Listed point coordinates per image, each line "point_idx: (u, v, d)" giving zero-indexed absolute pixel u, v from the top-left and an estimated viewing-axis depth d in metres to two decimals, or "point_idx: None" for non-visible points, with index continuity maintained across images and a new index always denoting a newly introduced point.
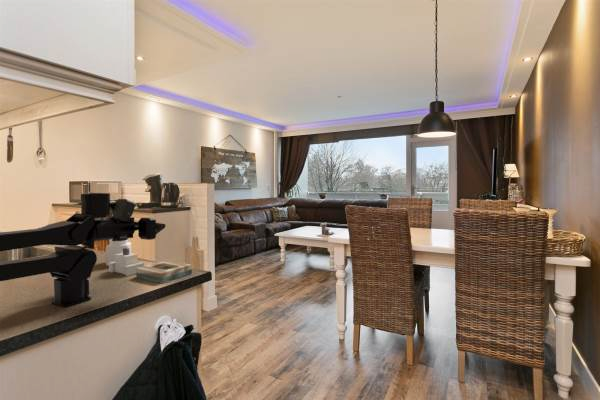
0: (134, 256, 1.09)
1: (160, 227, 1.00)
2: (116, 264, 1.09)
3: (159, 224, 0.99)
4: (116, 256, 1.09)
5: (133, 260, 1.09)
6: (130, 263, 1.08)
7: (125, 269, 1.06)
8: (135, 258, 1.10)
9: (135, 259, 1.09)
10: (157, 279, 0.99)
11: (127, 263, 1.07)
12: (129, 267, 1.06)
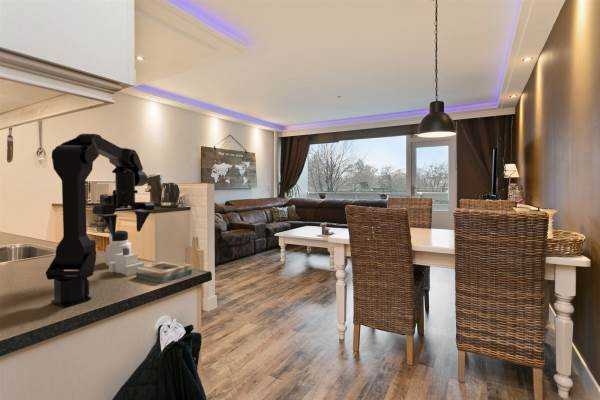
0: (134, 256, 1.09)
1: None
2: (116, 264, 1.09)
3: None
4: (116, 256, 1.09)
5: (133, 260, 1.09)
6: (130, 263, 1.08)
7: (125, 269, 1.06)
8: (135, 258, 1.10)
9: (135, 259, 1.09)
10: (157, 279, 0.99)
11: (127, 263, 1.07)
12: (129, 267, 1.06)
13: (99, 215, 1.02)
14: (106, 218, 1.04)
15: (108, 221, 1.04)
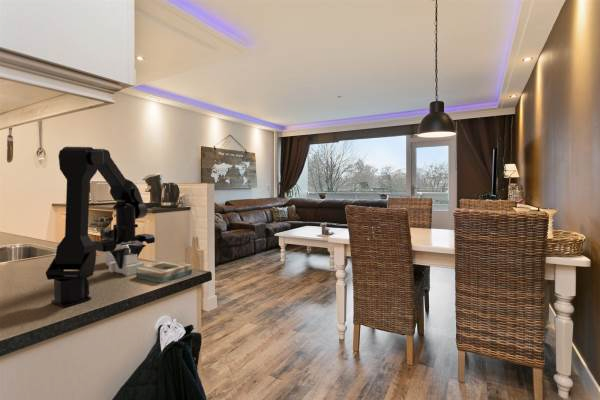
0: (134, 256, 1.09)
1: None
2: (116, 264, 1.09)
3: None
4: None
5: (133, 260, 1.09)
6: (130, 263, 1.08)
7: (125, 269, 1.06)
8: (135, 258, 1.10)
9: (135, 259, 1.09)
10: (157, 279, 0.99)
11: (127, 263, 1.07)
12: (129, 267, 1.06)
13: None
14: (114, 252, 1.07)
15: (116, 255, 1.07)
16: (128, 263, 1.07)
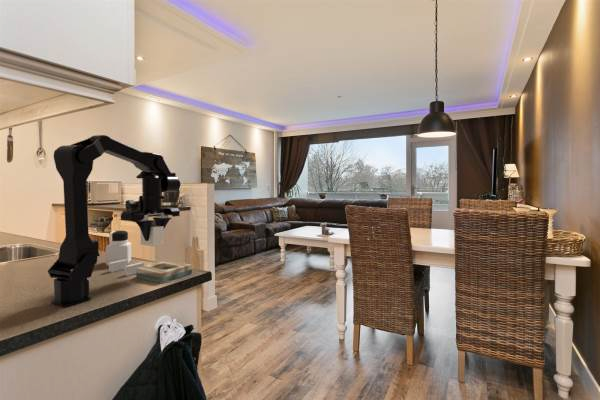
0: (160, 228, 1.06)
1: None
2: (142, 236, 1.06)
3: None
4: None
5: (160, 232, 1.06)
6: (157, 235, 1.05)
7: (125, 269, 1.06)
8: (161, 230, 1.07)
9: (161, 231, 1.07)
10: (157, 279, 0.99)
11: (154, 235, 1.04)
12: (129, 267, 1.06)
13: (134, 221, 1.02)
14: (140, 223, 1.04)
15: (142, 226, 1.04)
16: (155, 235, 1.05)
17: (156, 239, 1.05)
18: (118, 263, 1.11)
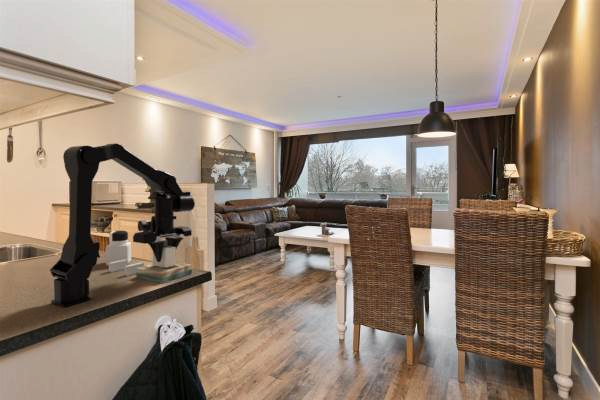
0: (172, 249, 1.05)
1: None
2: (154, 257, 1.05)
3: None
4: None
5: (172, 253, 1.05)
6: (169, 256, 1.04)
7: (125, 269, 1.06)
8: (173, 251, 1.06)
9: (173, 251, 1.06)
10: (157, 279, 0.99)
11: (166, 256, 1.03)
12: (129, 267, 1.06)
13: None
14: (152, 245, 1.03)
15: (154, 248, 1.03)
16: (167, 256, 1.04)
17: (168, 260, 1.04)
18: (118, 263, 1.11)
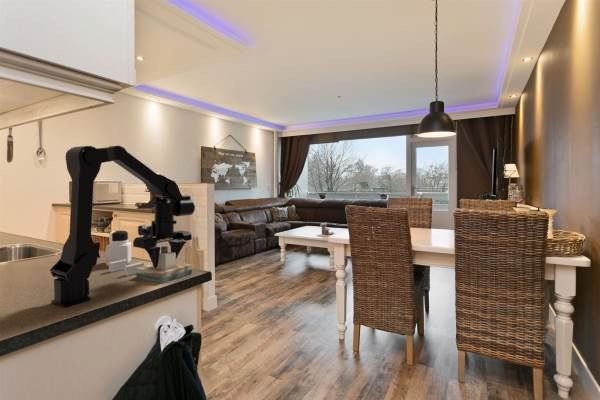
0: (173, 255, 1.06)
1: None
2: None
3: None
4: None
5: (172, 259, 1.05)
6: (169, 262, 1.04)
7: (125, 269, 1.06)
8: (174, 257, 1.06)
9: (173, 257, 1.06)
10: (157, 279, 0.99)
11: (166, 262, 1.03)
12: (129, 267, 1.06)
13: (143, 247, 1.00)
14: (149, 250, 1.02)
15: (151, 253, 1.02)
16: (167, 262, 1.04)
17: (168, 266, 1.04)
18: (118, 263, 1.11)
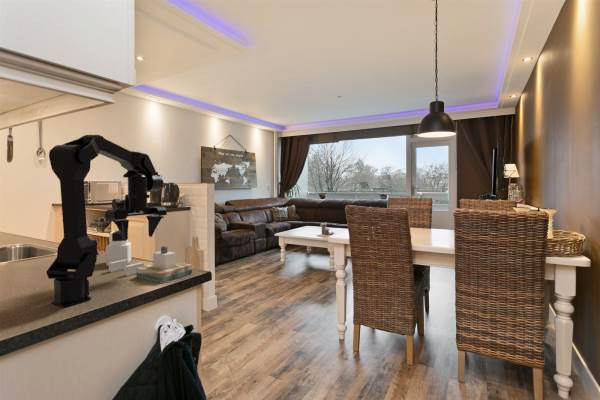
0: (173, 255, 1.06)
1: None
2: (154, 263, 1.06)
3: None
4: (154, 255, 1.05)
5: (172, 259, 1.05)
6: (169, 262, 1.04)
7: (125, 269, 1.06)
8: (174, 257, 1.06)
9: (173, 257, 1.06)
10: (157, 279, 0.99)
11: (166, 262, 1.03)
12: (129, 267, 1.06)
13: (111, 220, 1.01)
14: (118, 223, 1.02)
15: (120, 226, 1.02)
16: (167, 262, 1.04)
17: (168, 266, 1.04)
18: (118, 263, 1.11)
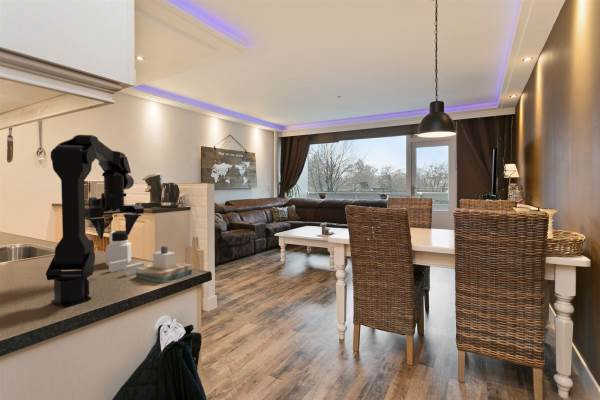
0: (173, 255, 1.06)
1: None
2: (154, 263, 1.06)
3: None
4: (154, 255, 1.05)
5: (172, 259, 1.05)
6: (169, 262, 1.04)
7: (125, 269, 1.06)
8: (174, 257, 1.06)
9: (173, 257, 1.06)
10: (157, 279, 0.99)
11: (166, 262, 1.03)
12: (129, 267, 1.06)
13: (87, 218, 1.02)
14: (94, 221, 1.04)
15: (96, 224, 1.04)
16: (167, 262, 1.04)
17: (168, 266, 1.04)
18: (118, 263, 1.11)
